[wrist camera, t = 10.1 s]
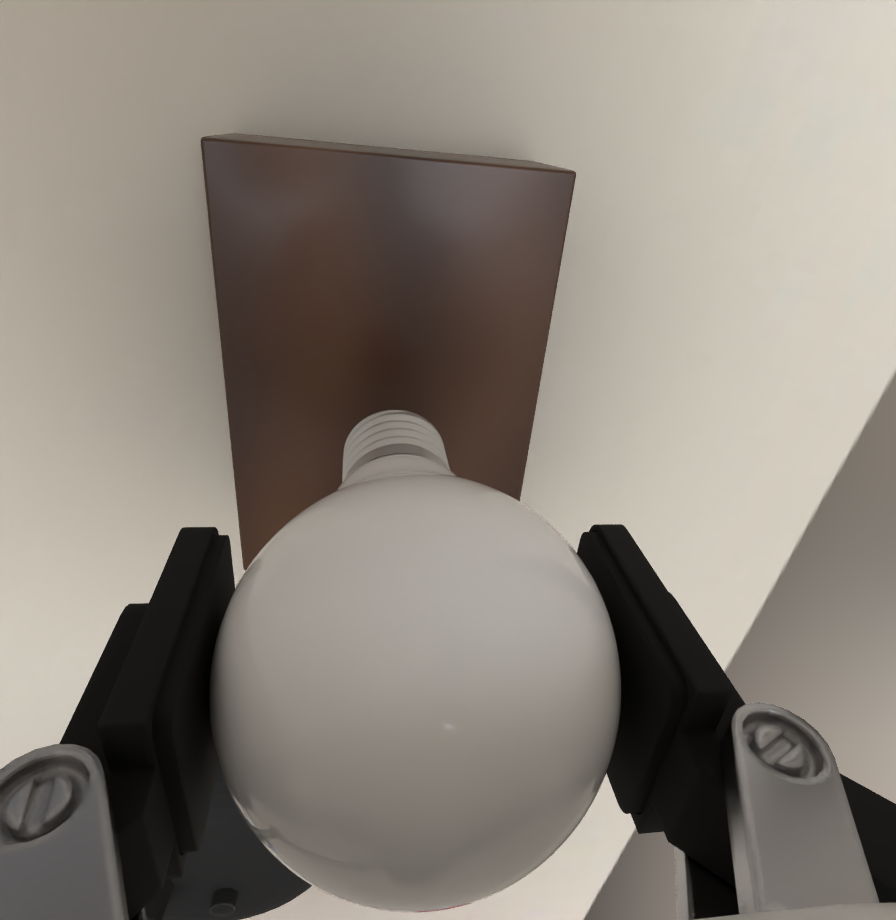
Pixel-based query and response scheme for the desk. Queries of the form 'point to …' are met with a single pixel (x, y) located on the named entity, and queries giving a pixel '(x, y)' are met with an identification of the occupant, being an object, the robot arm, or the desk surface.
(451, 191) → the brown wooden stand
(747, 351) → the desk surface
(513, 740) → the lightbulb
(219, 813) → the desk lamp
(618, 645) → the robot arm
